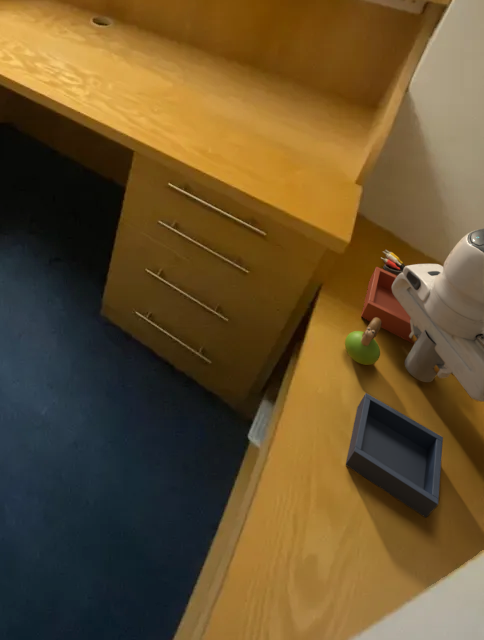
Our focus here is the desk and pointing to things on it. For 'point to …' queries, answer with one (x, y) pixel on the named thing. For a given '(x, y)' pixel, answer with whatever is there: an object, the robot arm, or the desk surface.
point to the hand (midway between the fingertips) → (427, 356)
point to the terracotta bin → (386, 305)
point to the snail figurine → (364, 344)
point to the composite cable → (393, 263)
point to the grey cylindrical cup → (423, 359)
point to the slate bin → (396, 454)
